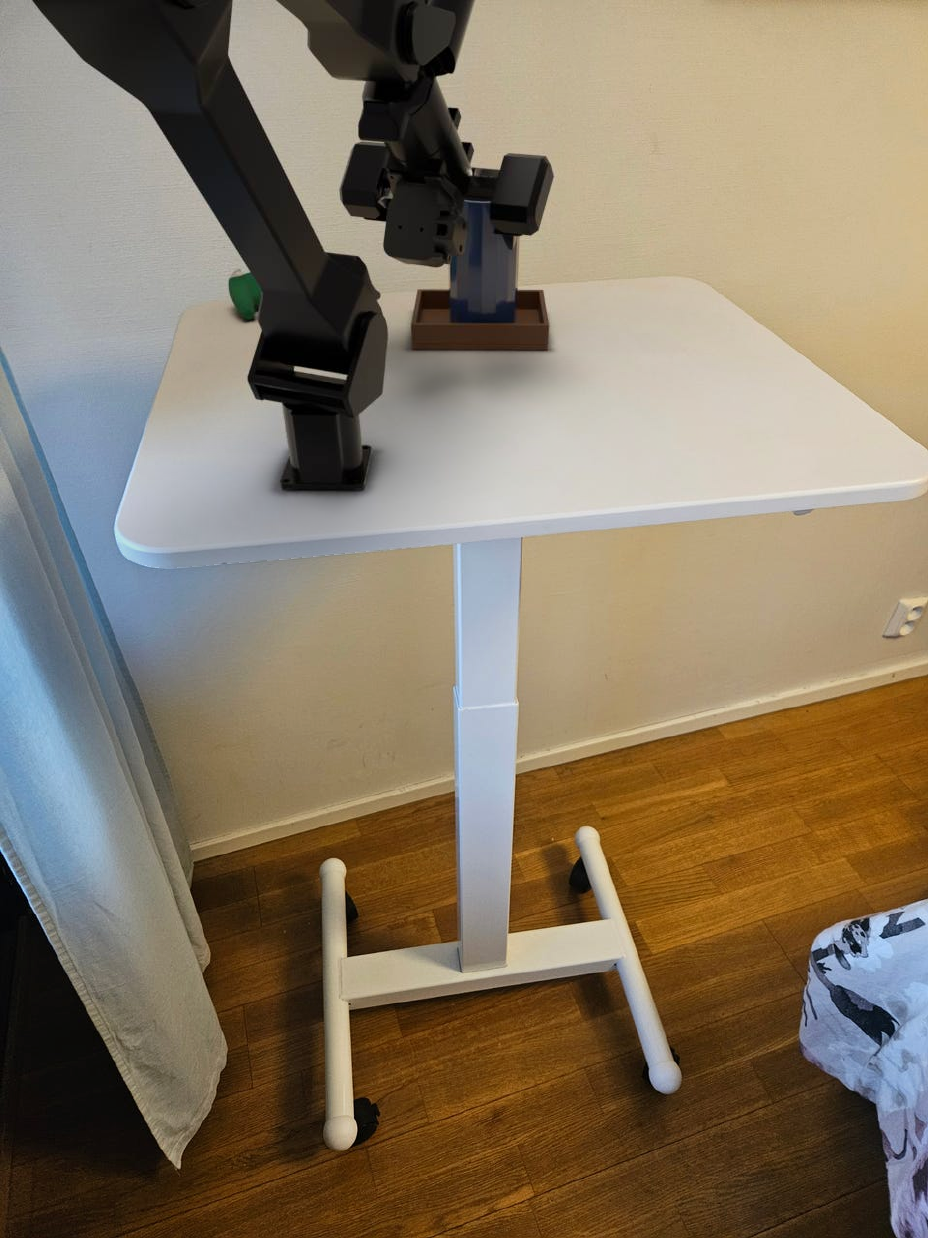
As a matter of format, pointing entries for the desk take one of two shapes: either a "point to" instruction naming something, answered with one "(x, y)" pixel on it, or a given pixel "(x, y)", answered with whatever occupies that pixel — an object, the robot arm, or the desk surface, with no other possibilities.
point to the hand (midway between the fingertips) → (468, 240)
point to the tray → (478, 325)
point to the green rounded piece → (244, 293)
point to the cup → (483, 272)
